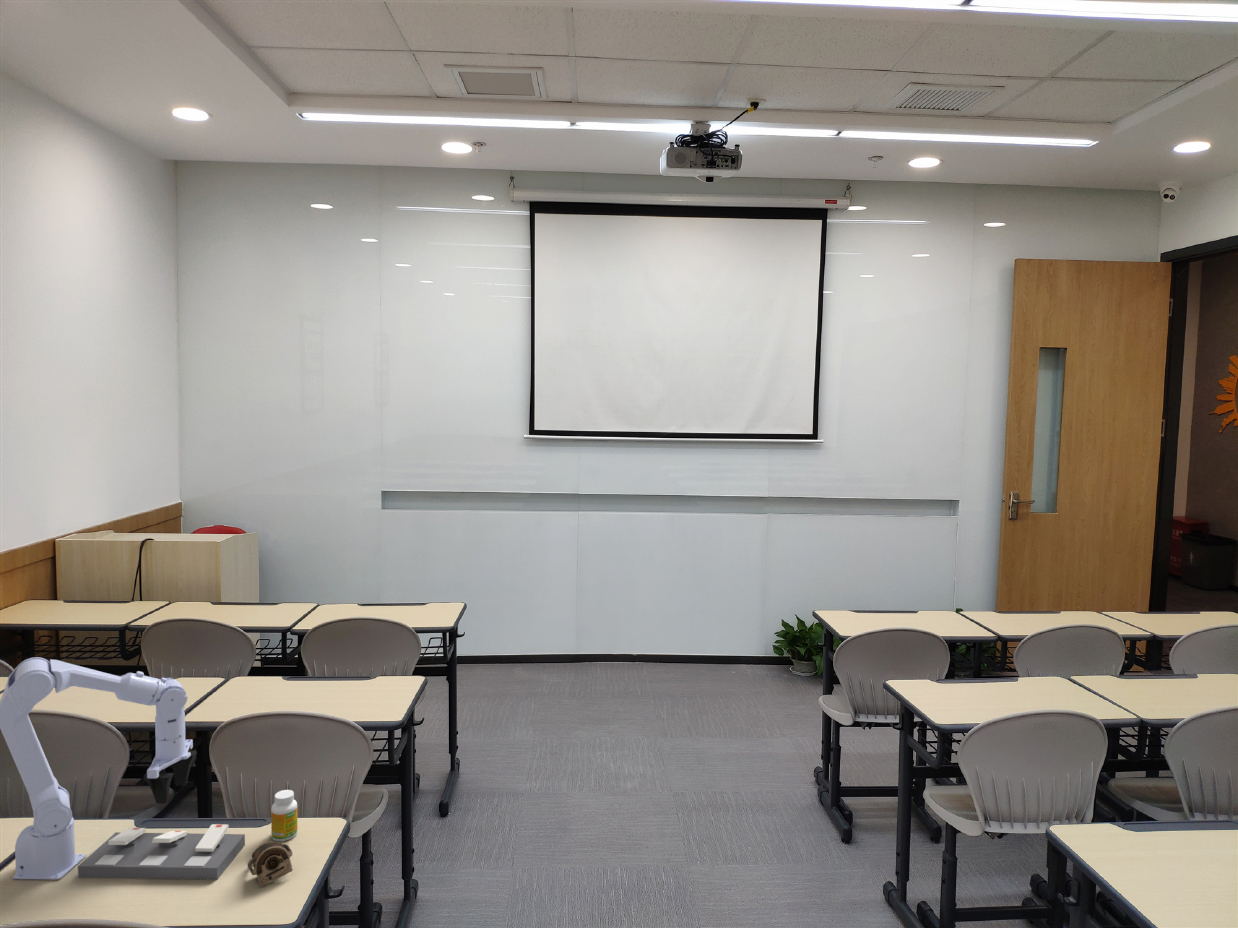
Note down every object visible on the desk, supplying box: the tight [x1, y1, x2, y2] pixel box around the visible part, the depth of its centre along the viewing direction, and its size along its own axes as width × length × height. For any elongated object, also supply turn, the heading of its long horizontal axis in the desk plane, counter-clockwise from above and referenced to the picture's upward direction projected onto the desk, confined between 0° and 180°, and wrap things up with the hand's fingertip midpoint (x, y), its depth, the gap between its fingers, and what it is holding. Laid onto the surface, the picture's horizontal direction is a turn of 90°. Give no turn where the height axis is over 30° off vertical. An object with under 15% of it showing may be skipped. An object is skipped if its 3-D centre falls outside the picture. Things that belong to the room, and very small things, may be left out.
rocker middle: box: [152, 830, 188, 843], centre depth 162 cm, size 4×7×1 cm, turn 1°
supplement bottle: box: [270, 789, 298, 842], centre depth 170 cm, size 5×5×10 cm
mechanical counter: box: [247, 841, 293, 888], centre depth 158 cm, size 7×13×10 cm
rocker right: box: [195, 823, 230, 852], centre depth 162 cm, size 4×7×1 cm, turn 2°
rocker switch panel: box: [77, 831, 246, 881], centre depth 160 cm, size 28×12×3 cm, turn 92°
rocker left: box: [108, 827, 147, 845], centre depth 161 cm, size 4×7×1 cm, turn 1°
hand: (171, 793), depth 169 cm, fingers open, 7 cm apart
